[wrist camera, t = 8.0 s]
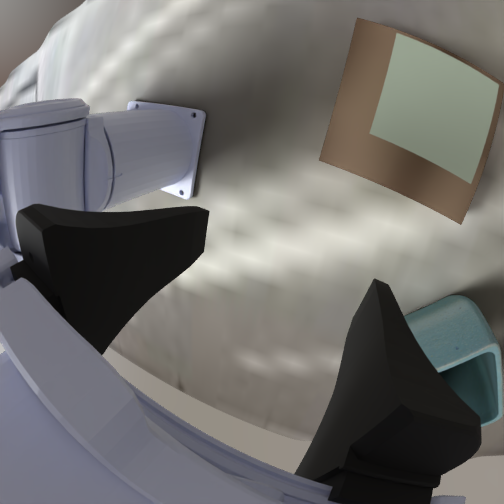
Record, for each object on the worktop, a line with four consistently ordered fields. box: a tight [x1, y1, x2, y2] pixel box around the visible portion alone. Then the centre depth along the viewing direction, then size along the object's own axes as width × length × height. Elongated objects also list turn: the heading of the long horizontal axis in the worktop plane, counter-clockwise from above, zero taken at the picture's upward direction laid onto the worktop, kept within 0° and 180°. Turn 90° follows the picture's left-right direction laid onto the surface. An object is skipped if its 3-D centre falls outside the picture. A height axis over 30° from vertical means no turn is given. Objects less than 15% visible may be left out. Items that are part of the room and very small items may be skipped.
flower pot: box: [404, 295, 504, 427], centre depth 15 cm, size 9×9×9 cm
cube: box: [369, 33, 499, 184], centre depth 10 cm, size 5×5×5 cm
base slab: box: [319, 18, 504, 225], centre depth 13 cm, size 10×10×2 cm
